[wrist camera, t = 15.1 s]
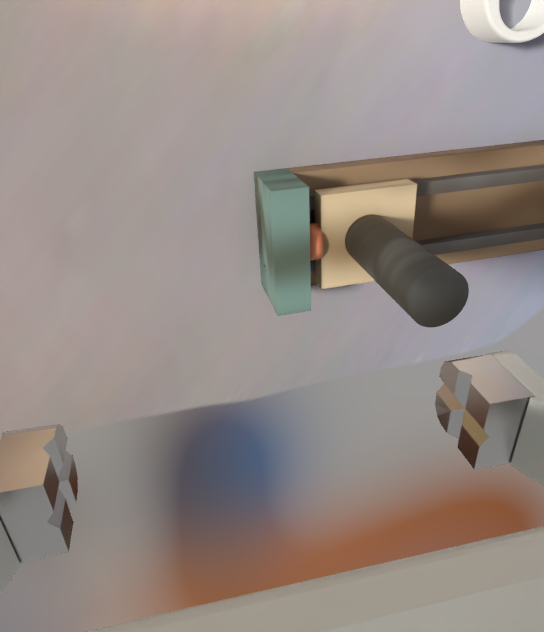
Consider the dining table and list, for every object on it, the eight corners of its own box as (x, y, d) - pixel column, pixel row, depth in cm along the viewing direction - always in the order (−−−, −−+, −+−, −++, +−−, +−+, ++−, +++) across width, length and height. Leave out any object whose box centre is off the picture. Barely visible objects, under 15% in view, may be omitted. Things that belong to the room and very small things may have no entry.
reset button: (299, 219, 36) (309, 231, 34) (312, 218, 37) (323, 229, 34) (300, 253, 38) (310, 266, 35) (312, 251, 38) (323, 264, 36)
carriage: (314, 190, 35) (383, 248, 25) (407, 178, 36) (507, 230, 26) (315, 280, 38) (376, 363, 29) (400, 267, 40) (486, 342, 30)
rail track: (253, 172, 36) (271, 191, 32) (588, 135, 41) (646, 147, 36) (261, 284, 41) (277, 315, 36) (562, 238, 46) (611, 261, 41)
